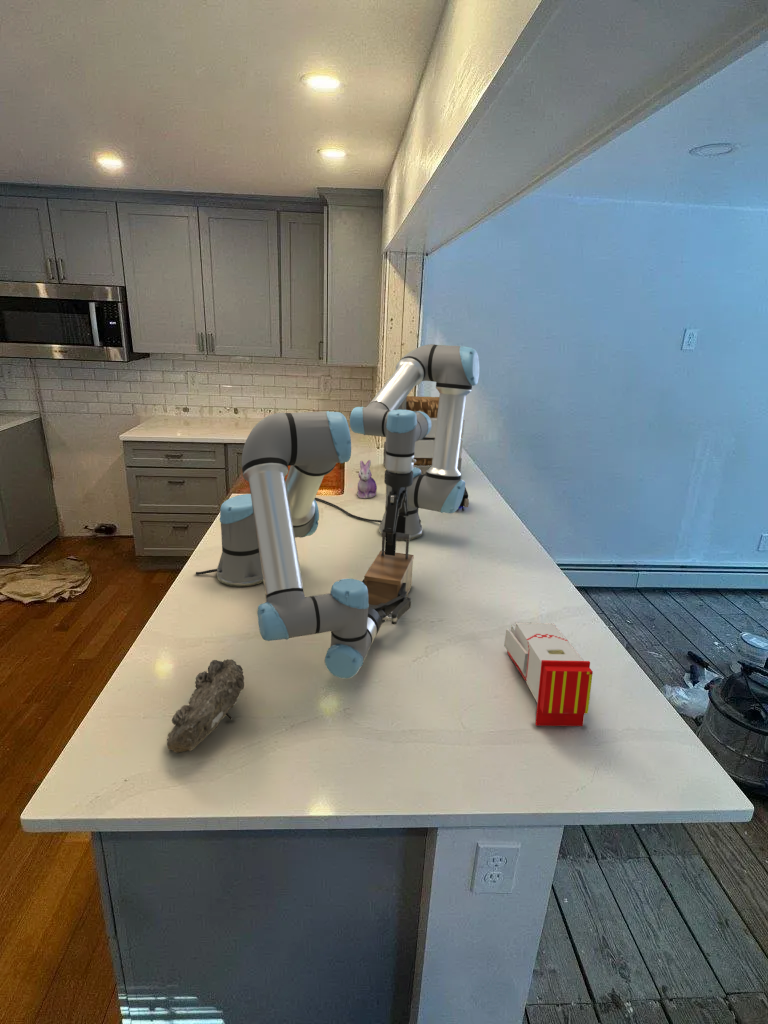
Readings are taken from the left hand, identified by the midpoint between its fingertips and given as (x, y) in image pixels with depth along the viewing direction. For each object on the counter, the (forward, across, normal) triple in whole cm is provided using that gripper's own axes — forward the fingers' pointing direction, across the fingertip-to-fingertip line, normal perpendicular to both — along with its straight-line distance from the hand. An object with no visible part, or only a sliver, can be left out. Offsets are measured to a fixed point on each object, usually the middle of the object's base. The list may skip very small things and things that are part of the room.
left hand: (385, 584), depth 149 cm
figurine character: (+88, +9, -6) cm, 89 cm away
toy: (-22, +40, -6) cm, 46 cm away
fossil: (-52, -21, -6) cm, 56 cm away
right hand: (+11, 0, +7) cm, 12 cm away
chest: (+5, 0, -6) cm, 8 cm away
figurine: (+89, -30, -6) cm, 94 cm away
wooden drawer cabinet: (+132, -15, -6) cm, 133 cm away
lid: (+5, 0, +2) cm, 6 cm away
